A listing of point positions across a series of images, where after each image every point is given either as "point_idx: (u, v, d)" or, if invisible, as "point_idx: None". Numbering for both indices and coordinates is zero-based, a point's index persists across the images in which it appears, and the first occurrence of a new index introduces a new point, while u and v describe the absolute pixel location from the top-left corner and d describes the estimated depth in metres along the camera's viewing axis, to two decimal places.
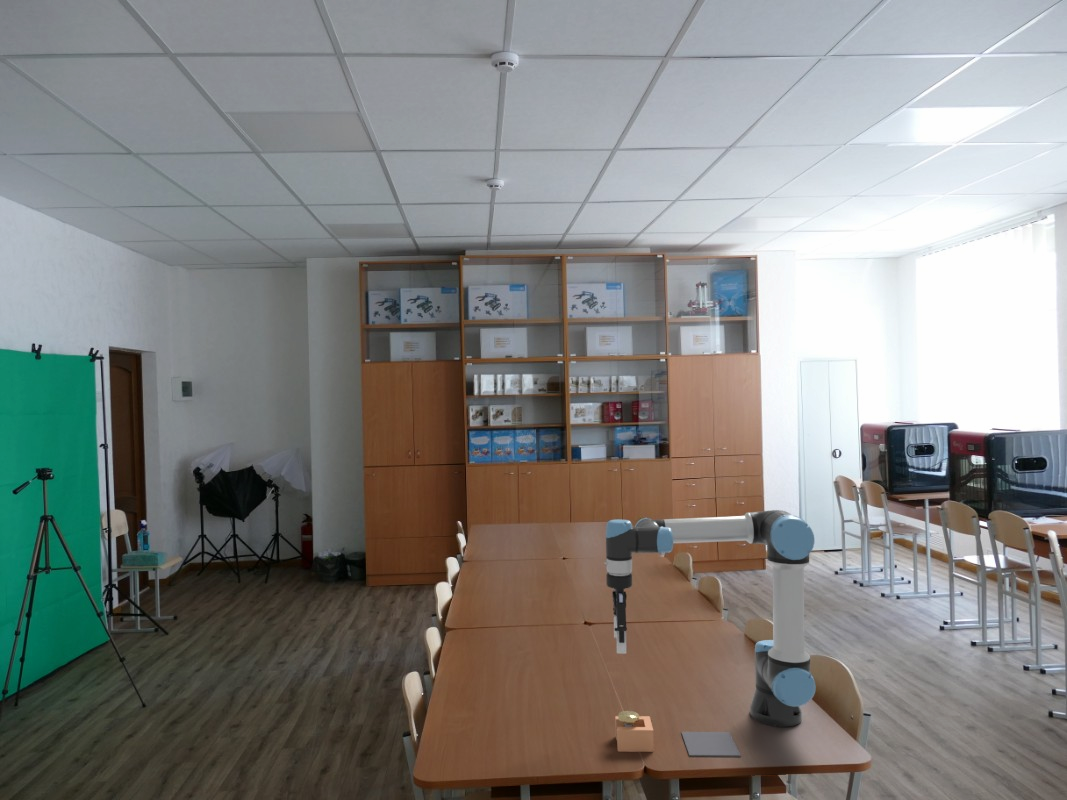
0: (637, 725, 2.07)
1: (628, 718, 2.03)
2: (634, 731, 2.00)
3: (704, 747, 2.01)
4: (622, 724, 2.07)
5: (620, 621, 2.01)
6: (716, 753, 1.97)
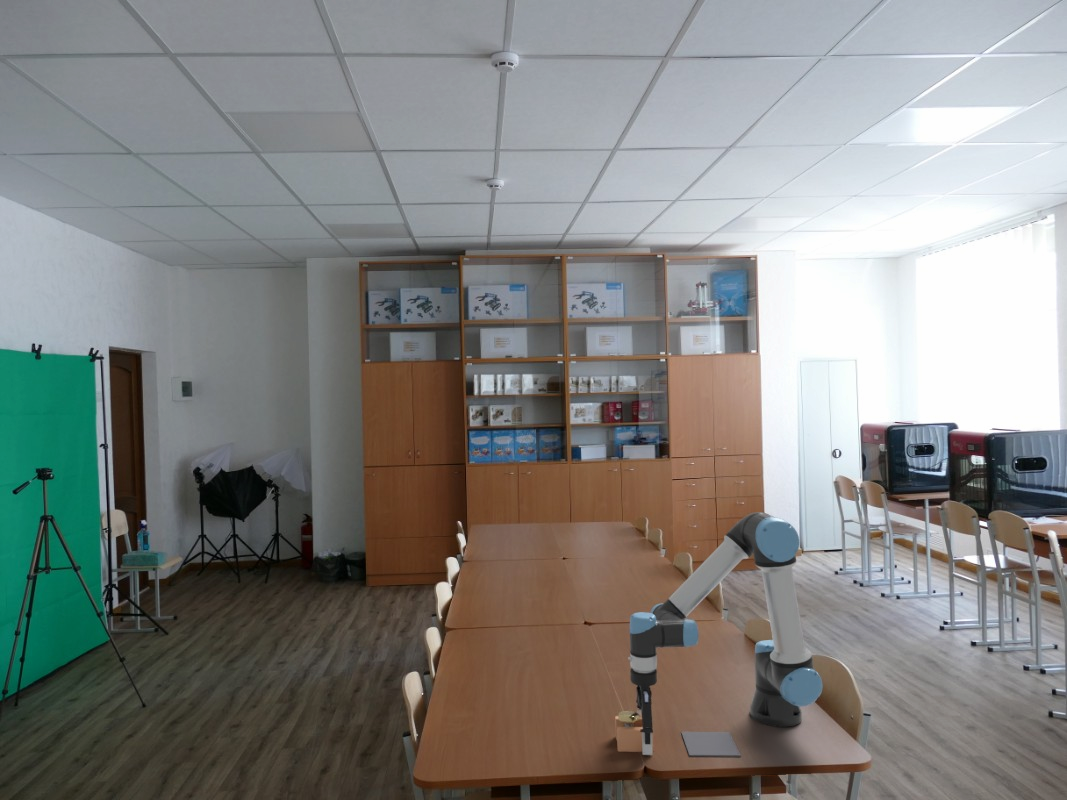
0: (637, 725, 2.07)
1: (628, 718, 2.03)
2: (634, 731, 2.00)
3: (704, 747, 2.01)
4: (622, 724, 2.07)
5: (646, 723, 1.95)
6: (716, 753, 1.97)
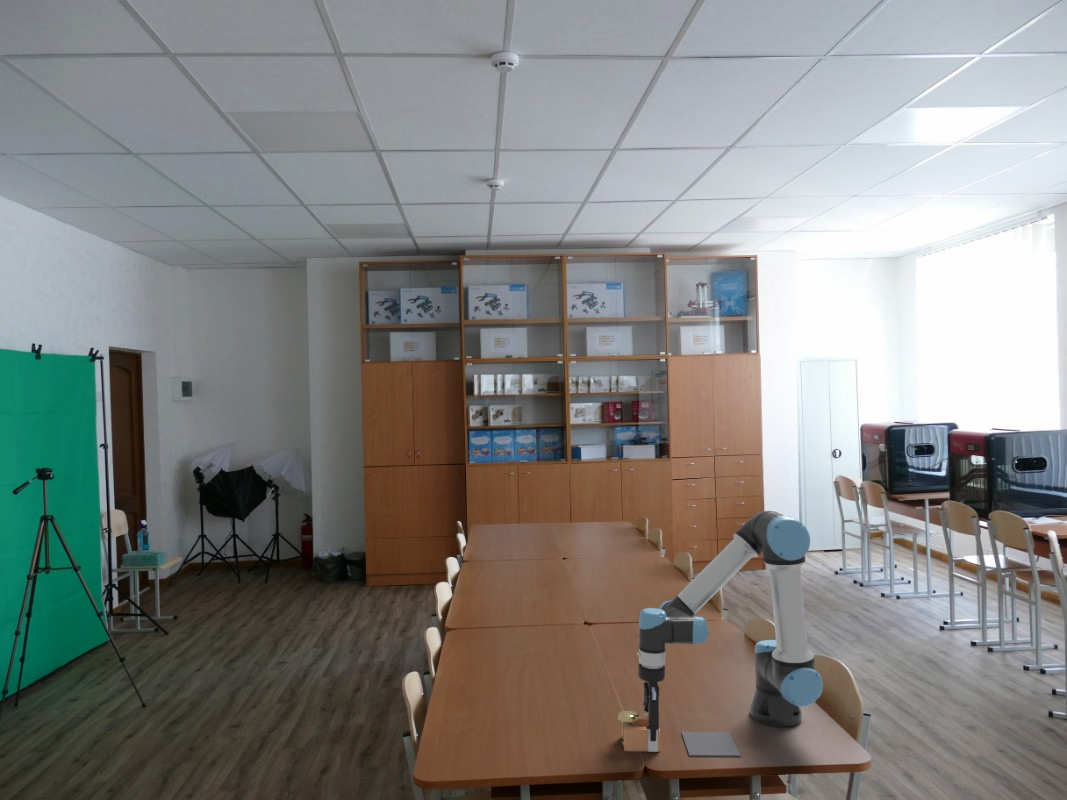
0: (644, 725, 2.07)
1: (628, 718, 2.03)
2: (641, 731, 2.00)
3: (704, 747, 2.01)
4: None
5: (653, 720, 1.97)
6: (716, 753, 1.97)
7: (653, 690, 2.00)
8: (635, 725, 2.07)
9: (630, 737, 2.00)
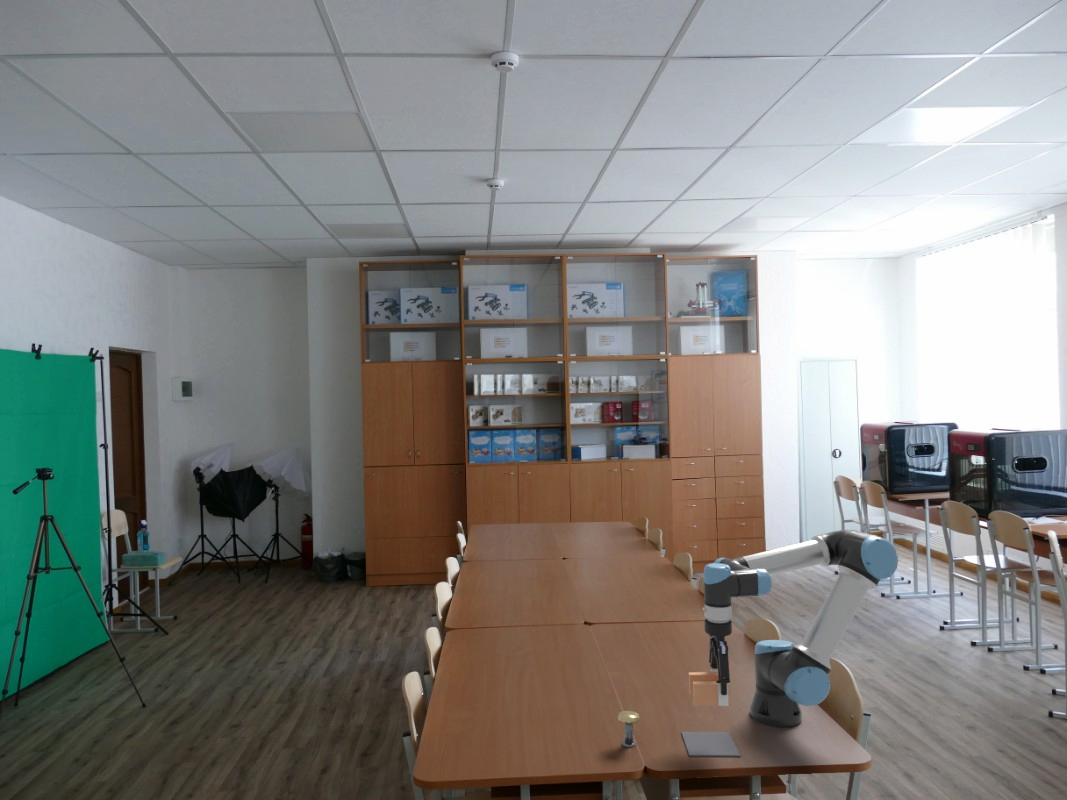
0: (711, 680, 2.06)
1: (628, 718, 2.03)
2: (711, 685, 1.99)
3: (704, 747, 2.01)
4: (696, 680, 2.06)
5: (723, 674, 1.96)
6: (716, 753, 1.97)
7: (722, 644, 1.99)
8: (703, 681, 2.06)
9: (700, 692, 1.99)
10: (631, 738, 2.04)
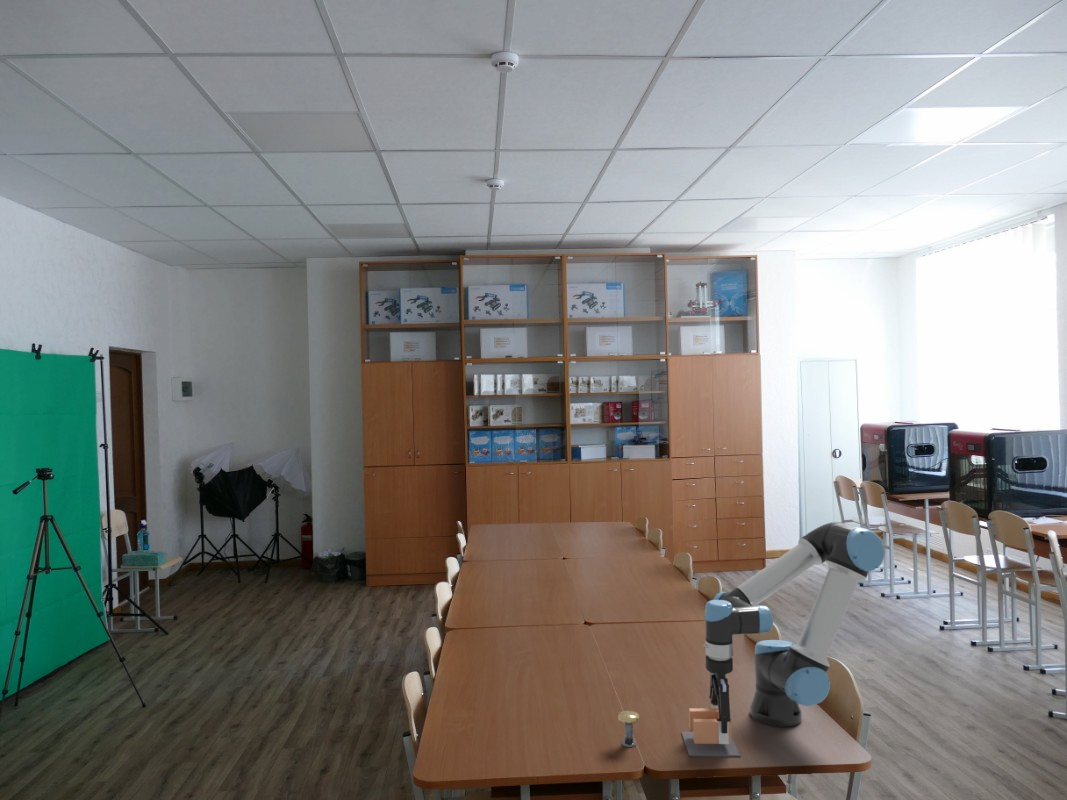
0: (711, 717, 2.06)
1: (628, 718, 2.03)
2: (711, 723, 1.99)
3: (704, 747, 2.01)
4: (696, 716, 2.06)
5: (724, 712, 1.96)
6: (716, 753, 1.97)
7: (722, 682, 1.99)
8: (703, 717, 2.06)
9: (700, 729, 1.99)
10: (631, 738, 2.04)
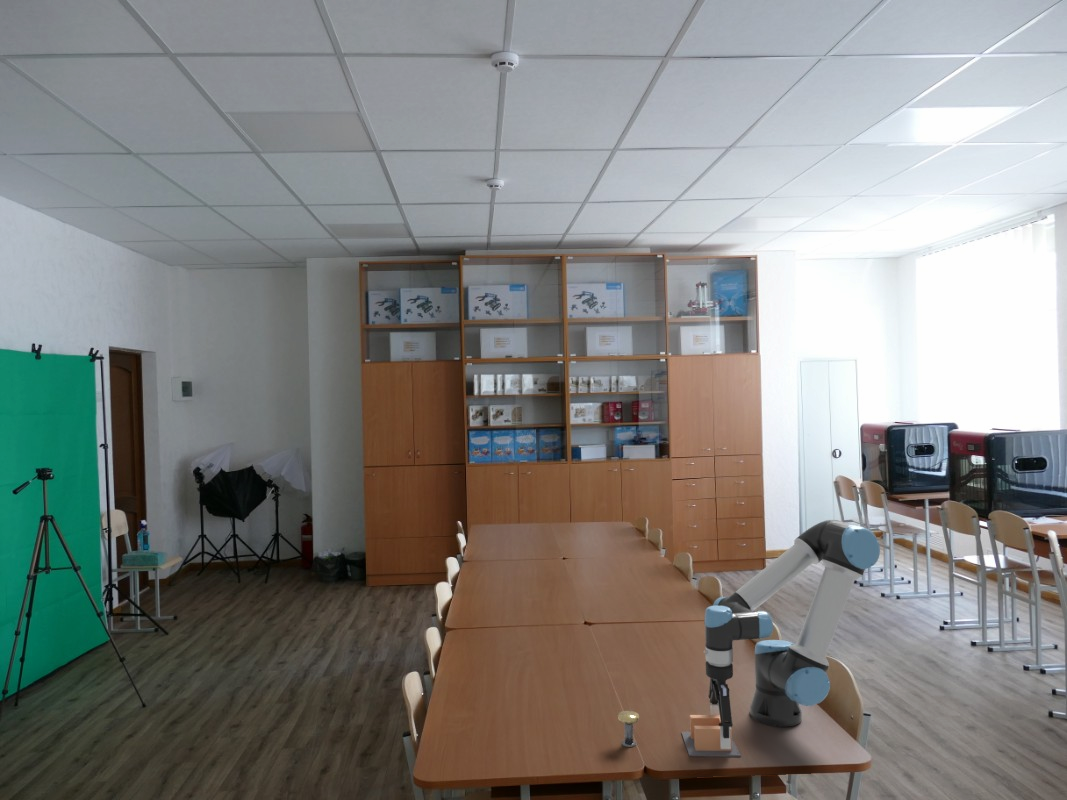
0: (712, 724, 2.06)
1: (628, 718, 2.03)
2: (712, 730, 1.99)
3: None
4: (697, 723, 2.06)
5: (725, 716, 1.94)
6: (716, 753, 1.97)
7: (723, 686, 1.99)
8: (704, 724, 2.06)
9: (701, 736, 1.99)
10: (631, 738, 2.04)
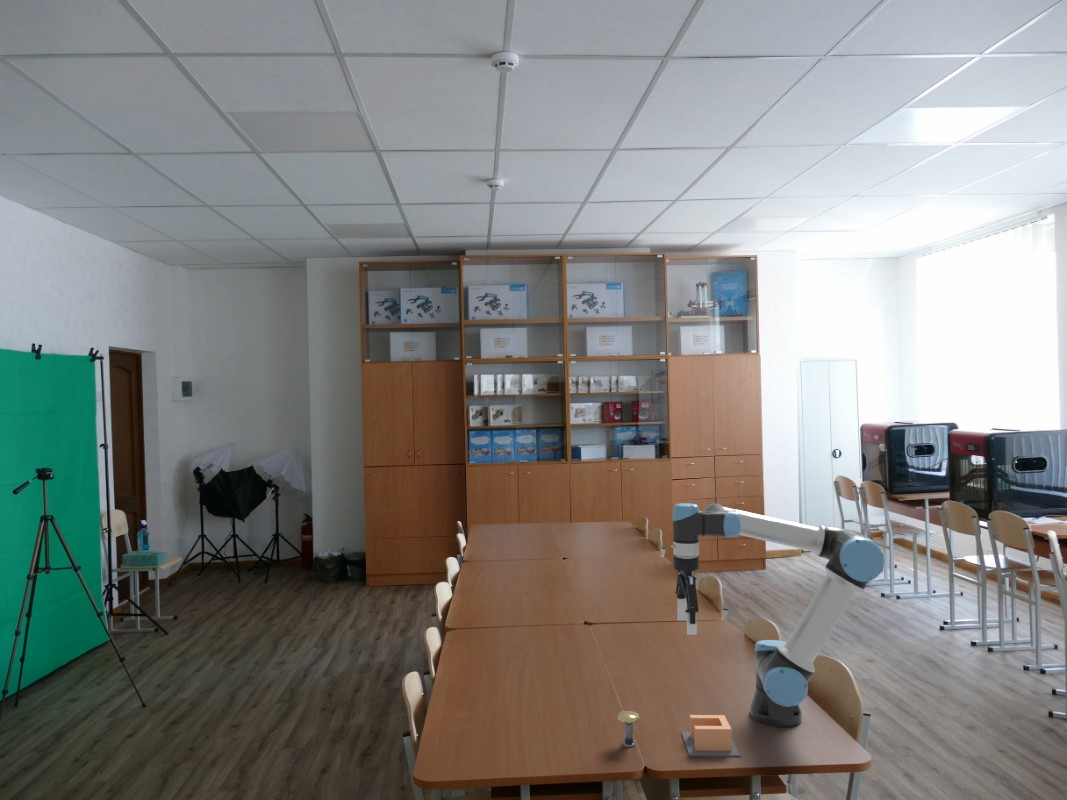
0: (712, 724, 2.06)
1: (628, 718, 2.03)
2: (712, 730, 1.99)
3: None
4: (697, 723, 2.06)
5: (692, 603, 2.04)
6: (716, 753, 1.97)
7: (689, 576, 2.08)
8: (704, 724, 2.06)
9: (701, 736, 1.99)
10: (631, 738, 2.04)
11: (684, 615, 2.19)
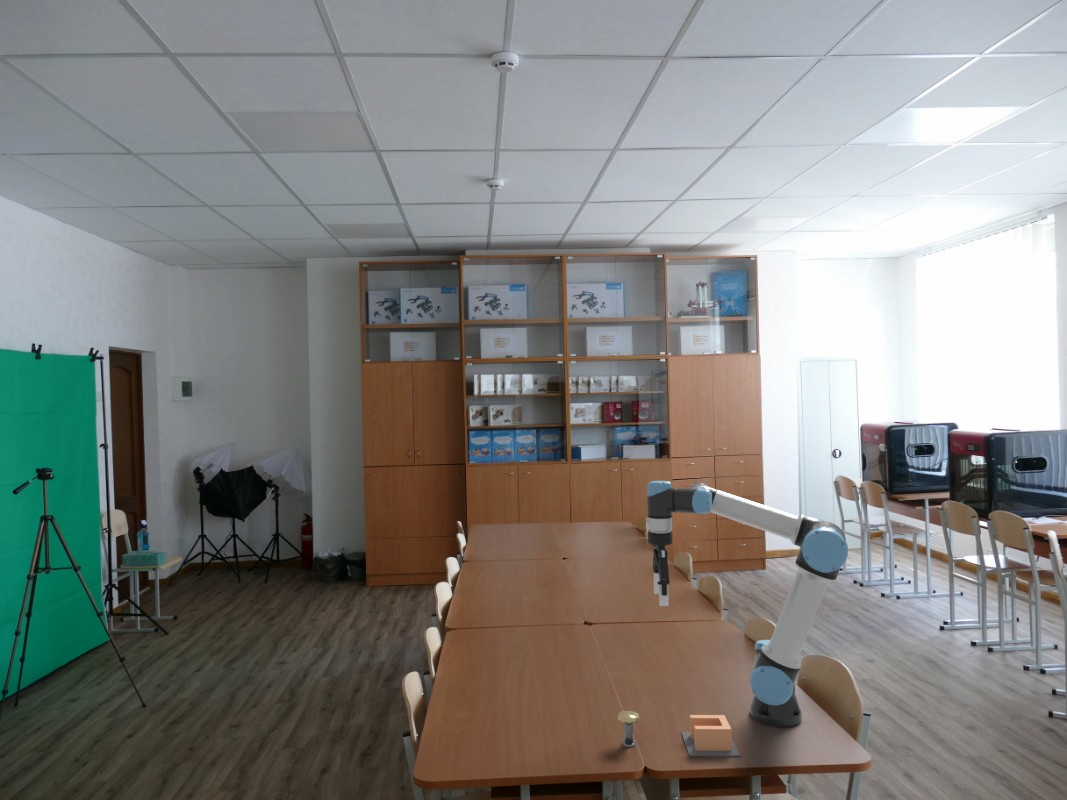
0: (712, 724, 2.06)
1: (628, 718, 2.03)
2: (712, 730, 1.99)
3: None
4: (697, 723, 2.06)
5: (663, 575, 2.12)
6: (716, 753, 1.97)
7: (662, 550, 2.17)
8: (704, 724, 2.06)
9: (701, 736, 1.99)
10: (631, 738, 2.04)
11: None
